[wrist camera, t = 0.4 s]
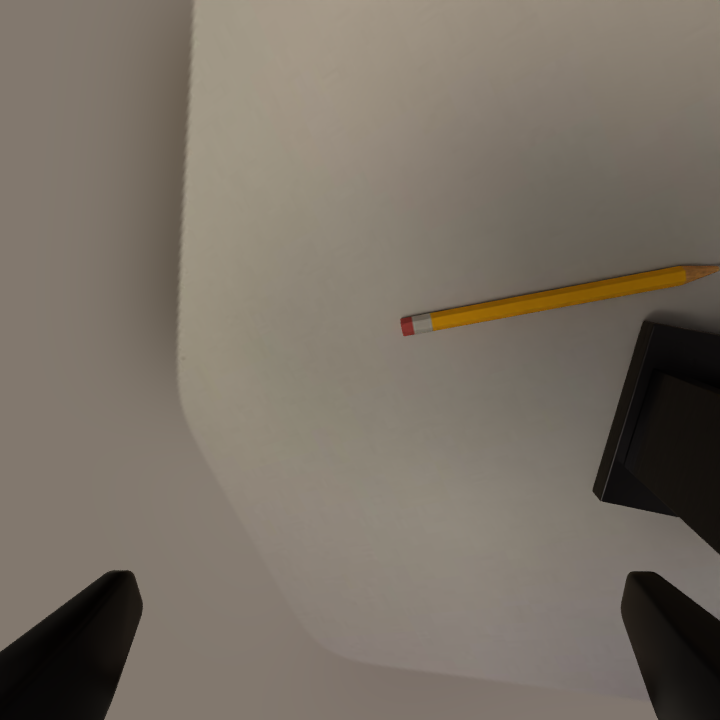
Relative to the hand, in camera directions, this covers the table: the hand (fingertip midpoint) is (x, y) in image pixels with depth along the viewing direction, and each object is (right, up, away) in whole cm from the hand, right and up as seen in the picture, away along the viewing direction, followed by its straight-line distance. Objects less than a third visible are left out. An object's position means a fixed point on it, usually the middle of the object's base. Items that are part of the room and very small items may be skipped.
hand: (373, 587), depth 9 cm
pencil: (+8, +7, +12) cm, 16 cm away
